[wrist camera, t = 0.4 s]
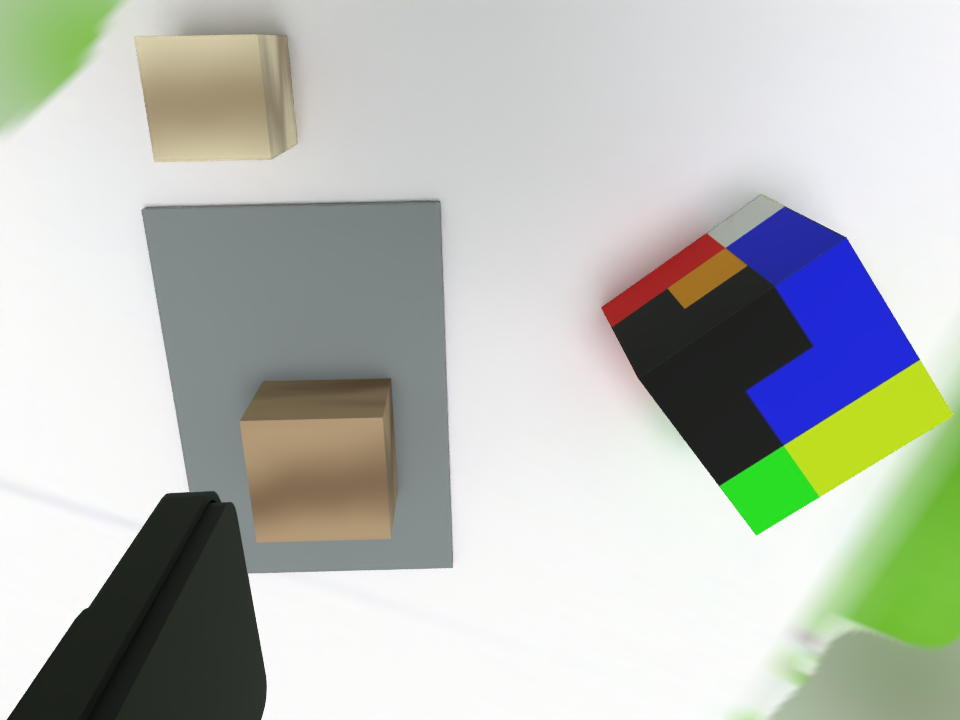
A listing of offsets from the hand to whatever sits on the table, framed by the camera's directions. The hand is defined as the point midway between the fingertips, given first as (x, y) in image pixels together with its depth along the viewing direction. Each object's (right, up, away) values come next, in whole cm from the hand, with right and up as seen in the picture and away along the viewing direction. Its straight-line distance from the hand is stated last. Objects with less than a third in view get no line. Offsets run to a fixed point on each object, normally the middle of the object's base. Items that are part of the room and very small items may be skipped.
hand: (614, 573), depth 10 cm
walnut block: (-10, -2, +36) cm, 37 cm away
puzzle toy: (+12, +5, +35) cm, 37 cm away
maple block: (-13, +16, +30) cm, 36 cm away
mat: (-11, 0, +35) cm, 37 cm away
